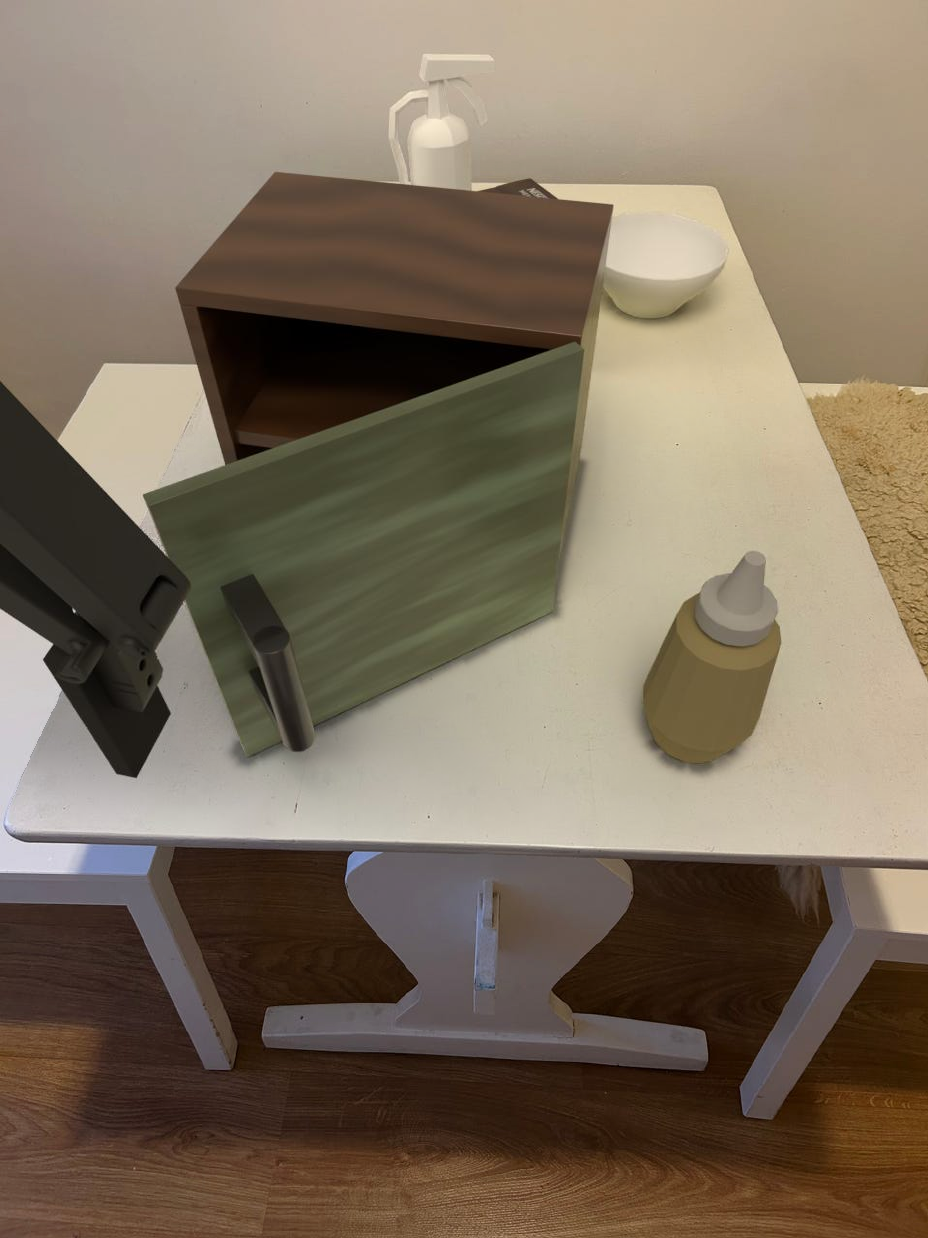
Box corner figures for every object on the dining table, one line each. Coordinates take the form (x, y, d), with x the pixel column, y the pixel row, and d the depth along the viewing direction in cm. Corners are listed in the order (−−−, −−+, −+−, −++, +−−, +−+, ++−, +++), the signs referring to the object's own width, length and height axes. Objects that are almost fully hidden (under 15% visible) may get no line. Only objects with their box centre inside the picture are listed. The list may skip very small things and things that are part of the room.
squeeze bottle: (737, 793, 58) (822, 629, 44) (622, 758, 60) (670, 589, 46) (753, 702, 63) (835, 528, 49) (646, 672, 64) (696, 496, 51)
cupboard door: (597, 662, 65) (649, 401, 46) (280, 825, 56) (189, 583, 38) (545, 603, 69) (575, 341, 50) (241, 747, 60) (142, 493, 42)
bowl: (693, 352, 92) (707, 292, 87) (558, 319, 97) (563, 260, 91) (729, 285, 101) (744, 227, 96) (604, 257, 106) (611, 200, 100)
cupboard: (550, 602, 69) (582, 335, 50) (249, 552, 73) (174, 287, 54) (579, 463, 80) (613, 203, 61) (317, 426, 84) (274, 171, 65)
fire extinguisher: (383, 292, 100) (364, 50, 81) (481, 280, 102) (484, 40, 83) (393, 322, 96) (376, 74, 77) (495, 308, 98) (502, 63, 79)
